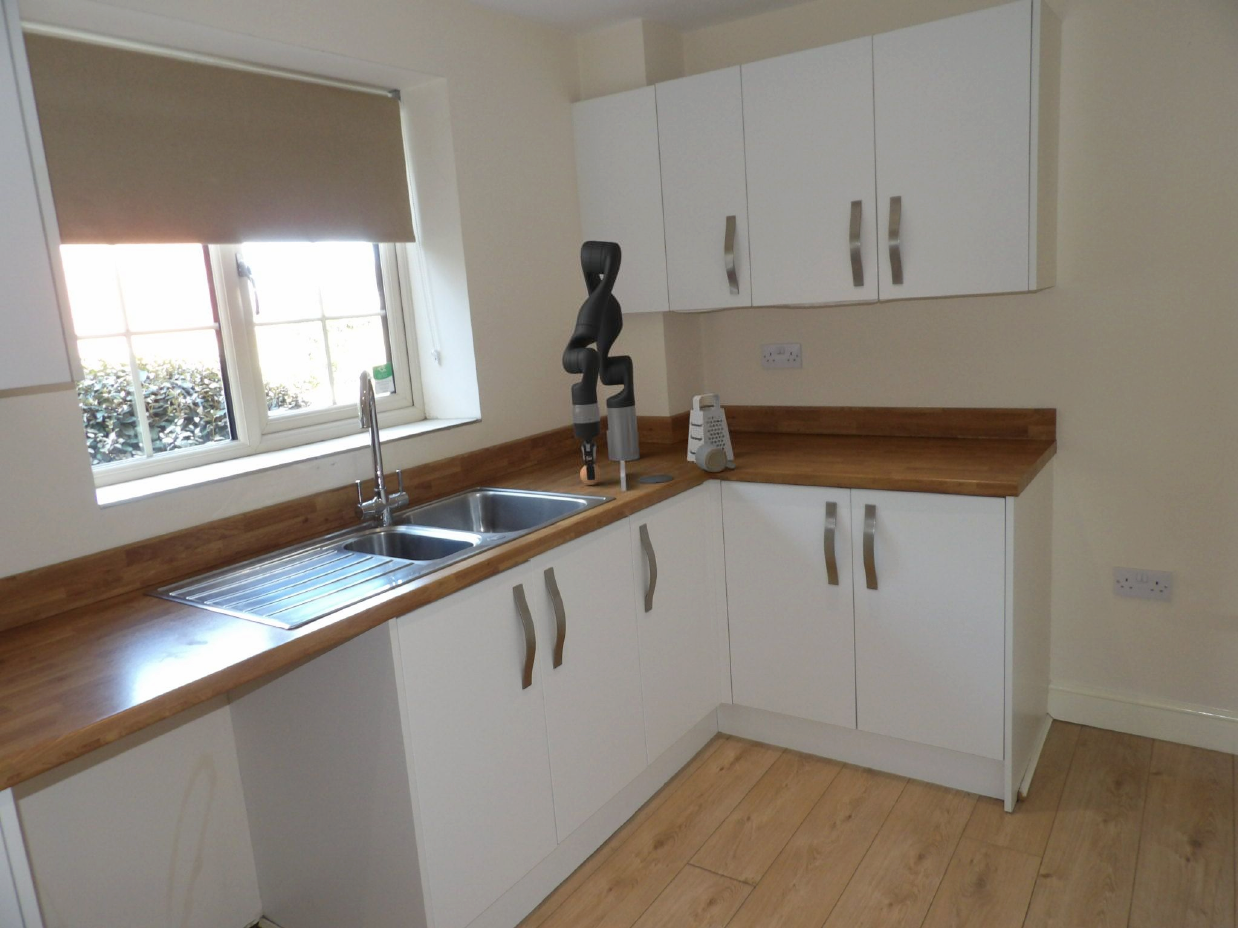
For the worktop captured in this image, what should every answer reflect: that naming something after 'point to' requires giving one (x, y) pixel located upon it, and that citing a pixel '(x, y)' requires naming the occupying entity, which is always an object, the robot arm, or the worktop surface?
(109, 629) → the worktop surface
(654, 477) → the pad
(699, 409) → the grater
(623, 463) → the low wall
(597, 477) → the ball
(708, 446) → the ceramic mug
